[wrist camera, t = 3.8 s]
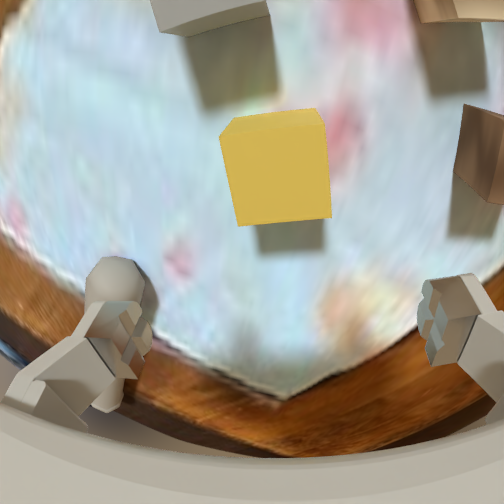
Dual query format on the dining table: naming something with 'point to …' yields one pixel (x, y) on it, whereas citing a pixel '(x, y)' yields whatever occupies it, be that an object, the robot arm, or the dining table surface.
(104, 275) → the tube
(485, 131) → the walnut cube
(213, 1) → the grey cube
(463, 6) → the beech cube
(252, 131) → the mustard cube
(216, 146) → the dining table surface
